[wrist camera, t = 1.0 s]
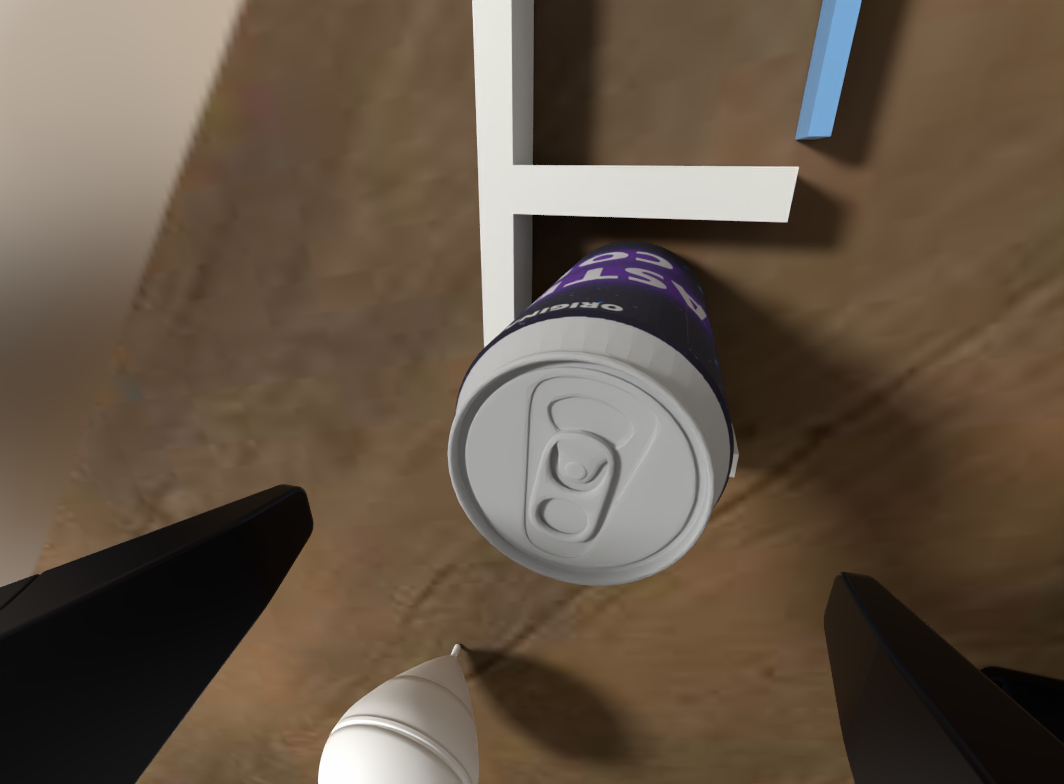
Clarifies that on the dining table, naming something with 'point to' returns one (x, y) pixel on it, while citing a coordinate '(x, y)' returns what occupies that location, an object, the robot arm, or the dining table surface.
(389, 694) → the spinning top
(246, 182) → the dining table surface
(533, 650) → the dining table surface
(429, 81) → the dining table surface
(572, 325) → the beverage can
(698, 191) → the white open frame
